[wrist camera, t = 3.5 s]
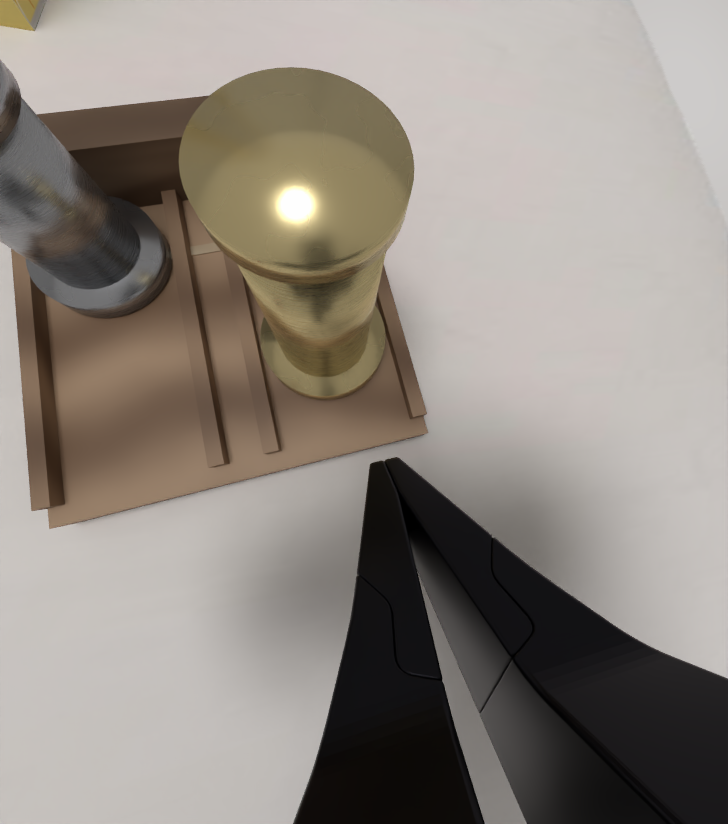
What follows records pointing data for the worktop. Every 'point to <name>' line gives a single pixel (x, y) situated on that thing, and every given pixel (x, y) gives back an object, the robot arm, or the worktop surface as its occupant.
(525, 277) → the worktop surface
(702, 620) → the worktop surface
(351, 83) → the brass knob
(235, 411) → the walnut mount
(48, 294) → the pewter knob
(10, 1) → the pasta box
